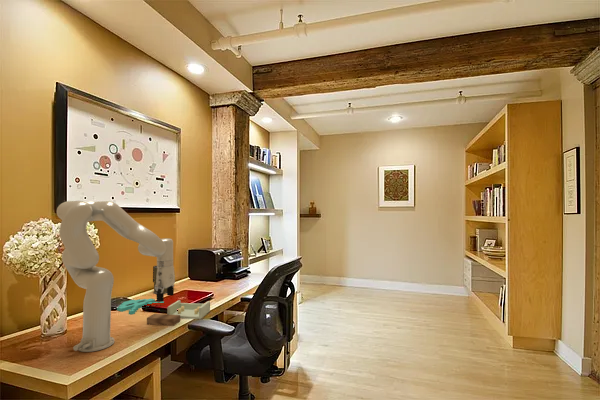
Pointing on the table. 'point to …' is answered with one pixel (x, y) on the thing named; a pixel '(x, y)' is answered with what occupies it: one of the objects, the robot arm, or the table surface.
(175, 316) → the brown wooden block
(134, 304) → the alien figure
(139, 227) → the robot arm
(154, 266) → the canister
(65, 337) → the table surface
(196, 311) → the peg frame
